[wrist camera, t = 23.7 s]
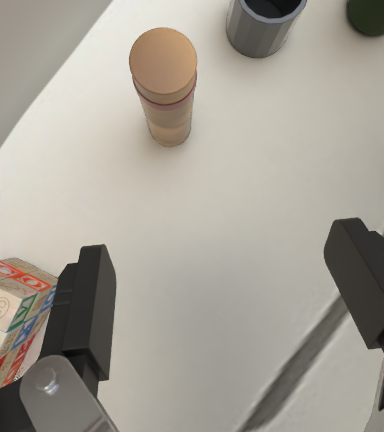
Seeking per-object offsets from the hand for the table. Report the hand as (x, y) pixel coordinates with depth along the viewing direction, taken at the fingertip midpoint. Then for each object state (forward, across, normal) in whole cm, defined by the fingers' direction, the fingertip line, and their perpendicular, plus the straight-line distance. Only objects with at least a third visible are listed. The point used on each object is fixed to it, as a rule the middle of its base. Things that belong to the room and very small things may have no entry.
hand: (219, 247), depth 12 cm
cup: (+34, -10, +2) cm, 35 cm away
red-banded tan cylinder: (+26, +1, +9) cm, 28 cm away
